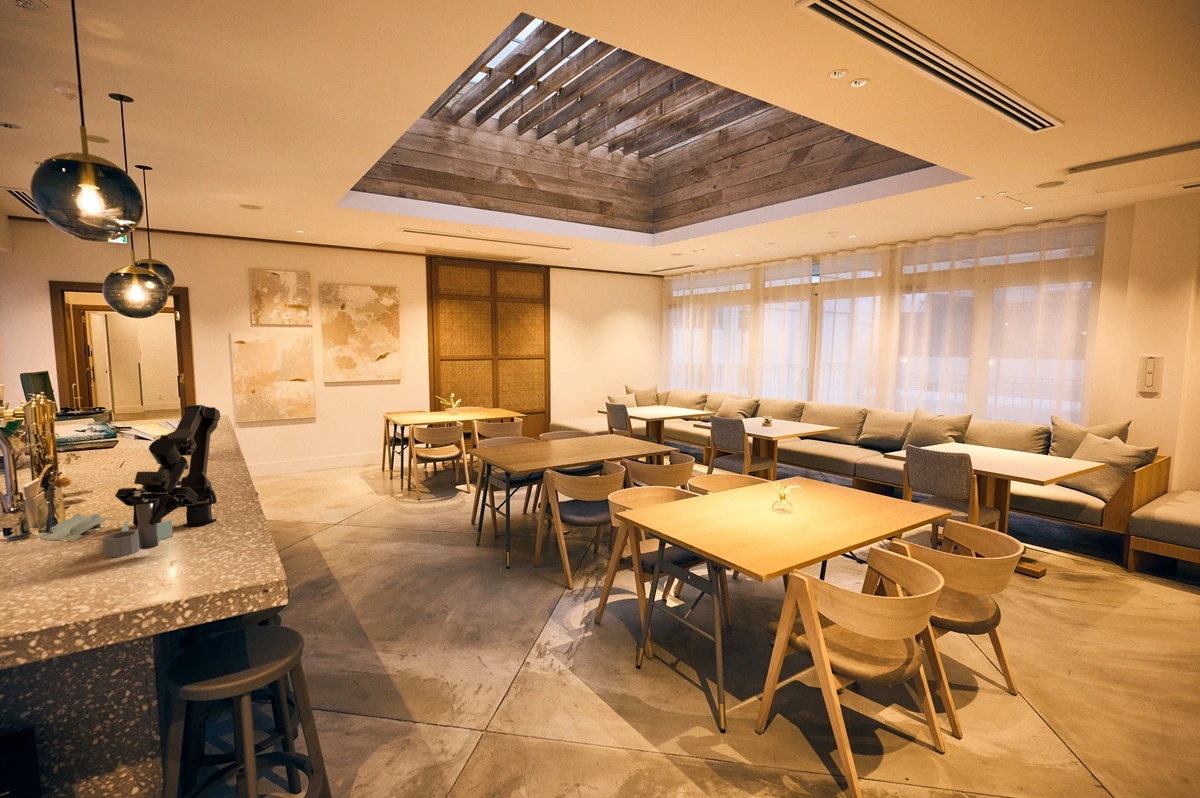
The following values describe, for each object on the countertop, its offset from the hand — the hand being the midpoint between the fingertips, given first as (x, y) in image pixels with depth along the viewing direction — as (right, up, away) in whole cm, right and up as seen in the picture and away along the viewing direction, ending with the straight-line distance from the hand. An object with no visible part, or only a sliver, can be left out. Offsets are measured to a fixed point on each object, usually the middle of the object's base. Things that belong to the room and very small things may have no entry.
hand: (143, 524), depth 151 cm
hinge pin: (0, -6, +2) cm, 7 cm away
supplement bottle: (-22, -7, +29) cm, 37 cm away
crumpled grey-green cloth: (-38, -8, +22) cm, 45 cm away
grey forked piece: (-12, -8, +10) cm, 18 cm away
